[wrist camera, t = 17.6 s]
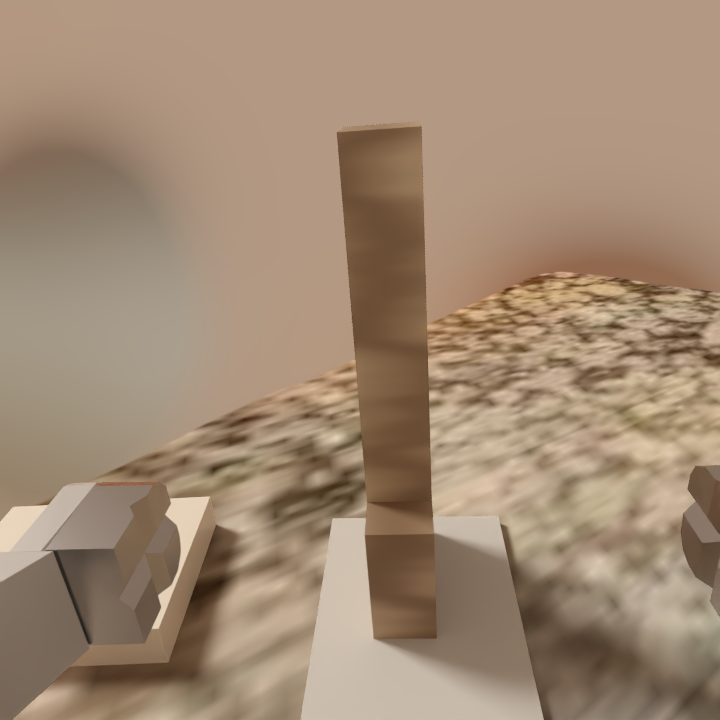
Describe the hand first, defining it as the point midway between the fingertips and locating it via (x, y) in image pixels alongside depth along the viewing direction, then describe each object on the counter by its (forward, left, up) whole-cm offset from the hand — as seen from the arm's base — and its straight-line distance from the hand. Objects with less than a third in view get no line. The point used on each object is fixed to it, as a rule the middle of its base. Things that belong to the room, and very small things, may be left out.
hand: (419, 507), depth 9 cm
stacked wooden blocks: (-1, -12, -13) cm, 18 cm away
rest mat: (-1, -10, -13) cm, 17 cm away
